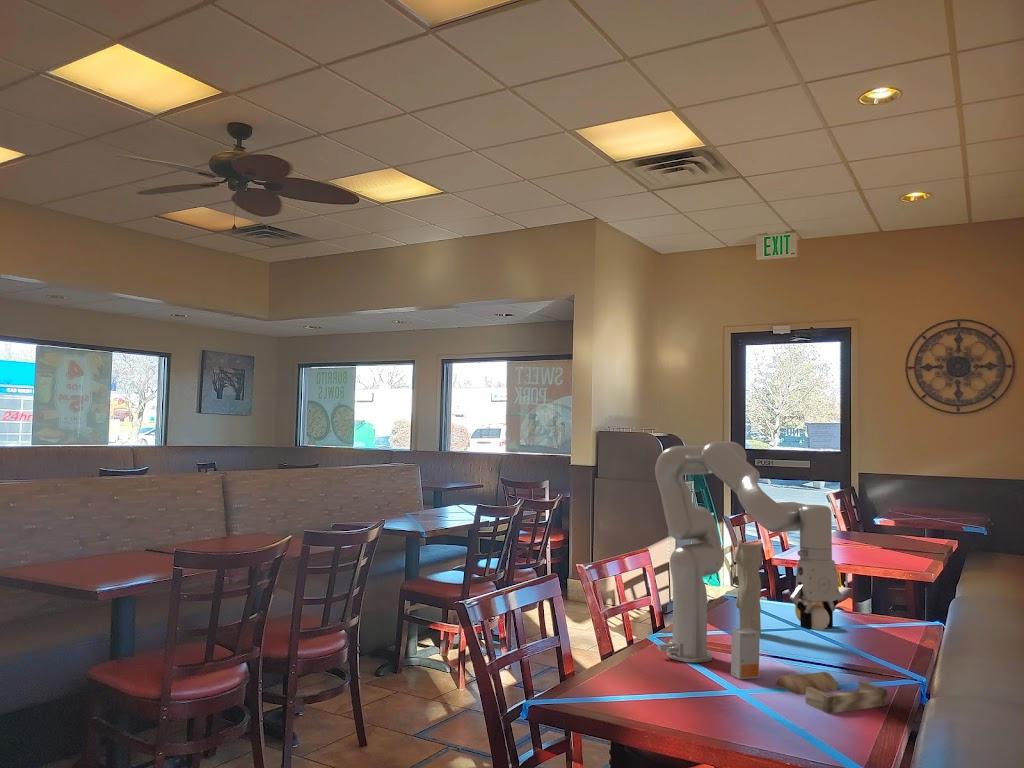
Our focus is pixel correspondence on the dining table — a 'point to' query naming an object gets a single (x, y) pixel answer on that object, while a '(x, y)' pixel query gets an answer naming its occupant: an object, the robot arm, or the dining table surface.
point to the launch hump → (807, 682)
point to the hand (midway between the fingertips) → (816, 626)
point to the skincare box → (745, 653)
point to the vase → (749, 584)
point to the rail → (847, 698)
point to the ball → (819, 617)
